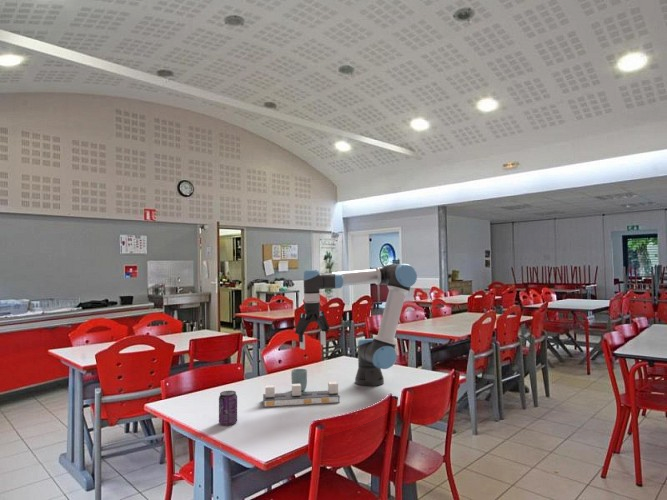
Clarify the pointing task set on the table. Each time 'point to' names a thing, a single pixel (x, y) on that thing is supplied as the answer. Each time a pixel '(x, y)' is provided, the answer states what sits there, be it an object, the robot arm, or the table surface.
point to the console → (300, 399)
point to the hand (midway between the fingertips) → (313, 346)
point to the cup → (299, 377)
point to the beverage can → (228, 407)
